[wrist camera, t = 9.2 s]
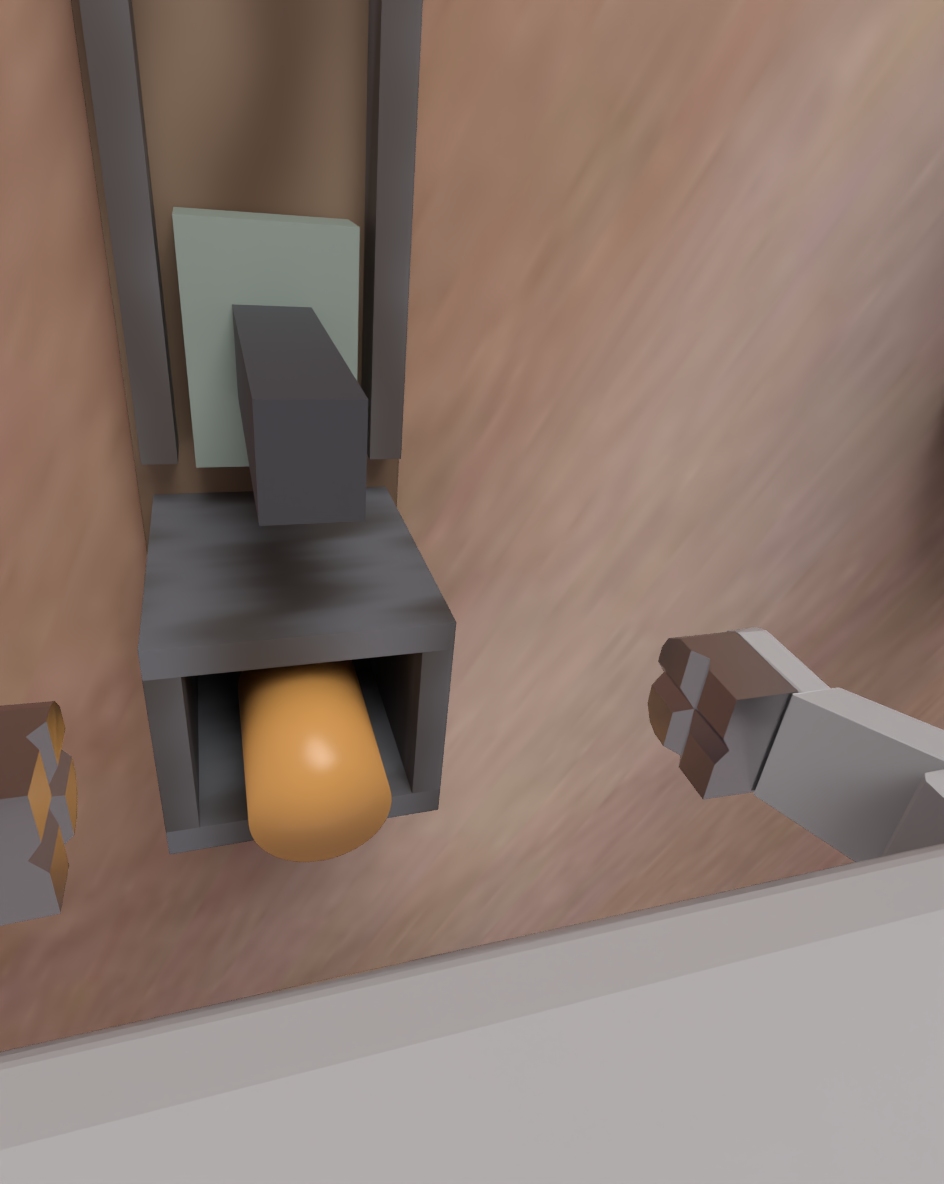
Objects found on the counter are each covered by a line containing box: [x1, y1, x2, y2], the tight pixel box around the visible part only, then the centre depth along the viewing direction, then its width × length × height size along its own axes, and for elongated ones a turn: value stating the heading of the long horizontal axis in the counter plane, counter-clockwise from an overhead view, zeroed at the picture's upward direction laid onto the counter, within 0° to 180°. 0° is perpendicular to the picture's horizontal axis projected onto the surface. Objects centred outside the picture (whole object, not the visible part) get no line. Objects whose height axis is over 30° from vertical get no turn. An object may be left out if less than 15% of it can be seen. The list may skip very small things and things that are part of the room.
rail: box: [71, 0, 456, 854], centre depth 23 cm, size 10×32×12 cm, turn 175°
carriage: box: [172, 207, 368, 526], centre depth 22 cm, size 6×8×12 cm
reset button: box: [238, 660, 392, 862], centre depth 24 cm, size 4×4×6 cm
